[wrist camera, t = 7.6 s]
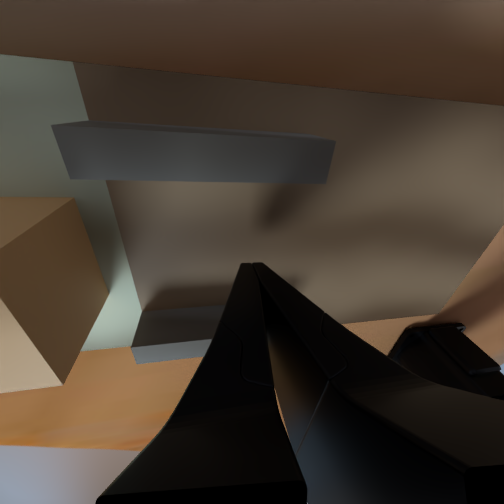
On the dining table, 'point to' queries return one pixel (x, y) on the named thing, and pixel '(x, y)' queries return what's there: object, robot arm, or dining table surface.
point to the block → (44, 290)
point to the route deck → (251, 192)
